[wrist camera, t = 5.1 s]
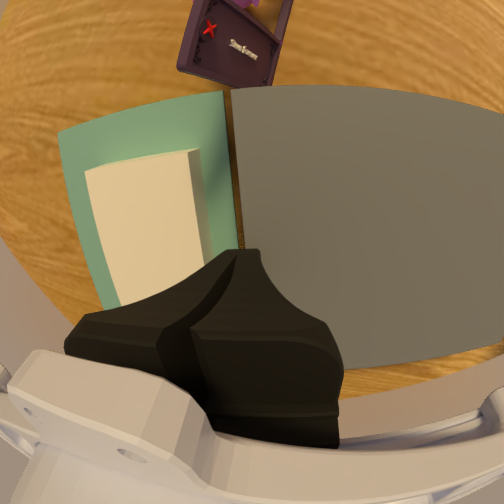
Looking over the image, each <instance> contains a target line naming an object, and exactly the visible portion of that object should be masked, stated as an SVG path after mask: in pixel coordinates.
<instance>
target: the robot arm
mask: <svg viewBox="0 0 504 504" xmlns="http://www.w3.org/2000/svg"><path fill="white" fill-rule="evenodd" d="M64 351H65V354H62V353H58V352H54V351H51V350H33V351H32V353H31V354H30V355H29V356H28V358H27V359H26V360H25V362H24V363H23V364H22V365H21V367H20V368H19V369H18V371H17V372H16V373H15V375H14V376H13V377H12V376H11V375H10V373H9V372H8V370H7V369H6V368H5V367H4V366H3V365H2V364H1V363H0V437H1V438H3V439H4V440H5V441H6V442H8V443H9V444H10V445H12V446H13V447H14V448H16V449H17V450H18V451H20V452H21V453H22V454H24V455H25V456H27V457H28V458H29V459H30V460H29V462H28V464H27V466H26V468H25V470H24V472H23V474H22V476H21V478H20V480H19V483H18V485H17V487H16V489H15V491H14V493H13V496H12V498H11V500H10V503H9V504H448V503H451V502H453V501H455V500H457V499H460V498H462V497H464V496H466V495H468V494H471V493H473V492H474V491H477V490H479V489H481V488H483V487H485V486H487V485H488V484H490V483H492V482H494V481H496V480H498V479H499V478H501V477H503V476H504V386H503V387H500V388H498V389H496V390H494V391H493V392H492V393H491V394H490V395H489V396H488V397H487V398H486V399H485V401H484V402H483V404H482V405H481V407H480V408H478V409H475V410H473V411H470V412H467V413H464V414H461V415H458V416H455V417H451V418H448V419H444V420H441V421H437V422H434V423H430V424H426V425H422V426H418V427H413V428H409V429H404V430H399V431H394V432H389V433H383V434H376V435H370V436H363V437H355V438H346V439H339V428H338V418H337V417H338V416H339V406H338V398H339V394H340V390H341V386H342V381H343V377H344V365H343V360H342V357H341V354H340V351H339V348H338V346H337V343H336V341H335V339H334V337H333V335H332V333H331V331H330V329H329V327H328V325H327V324H326V323H325V322H324V321H322V320H319V319H317V318H315V317H313V316H311V315H309V314H307V313H305V312H303V311H302V310H300V309H299V308H297V307H296V306H294V305H293V304H292V303H291V302H290V301H288V300H287V299H286V298H285V297H284V296H283V295H282V294H281V293H280V292H279V290H278V289H277V288H276V287H275V285H274V284H273V283H272V281H271V280H270V278H269V276H268V275H267V273H266V271H265V269H264V267H263V265H262V262H261V252H260V250H259V249H258V248H252V249H226V250H225V251H223V252H222V253H220V254H219V255H218V256H216V257H215V258H214V259H212V260H211V261H210V262H208V263H207V264H206V265H204V266H203V267H202V268H200V269H199V270H197V271H196V272H194V273H193V274H191V275H190V276H189V277H187V278H186V279H184V280H182V281H181V282H179V283H177V284H175V285H174V286H172V287H170V288H168V289H166V290H164V291H162V292H159V293H157V294H155V295H152V296H150V297H147V298H145V299H143V300H140V301H137V302H134V303H131V304H128V305H124V306H121V307H117V308H113V309H109V310H104V311H99V312H94V313H89V314H85V315H84V316H83V317H82V319H81V320H80V321H79V322H78V324H77V325H76V326H75V328H74V329H73V330H72V331H71V333H70V334H69V335H68V337H67V338H66V339H65V341H64Z"/></svg>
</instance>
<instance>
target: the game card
mask: <svg viewBox="0 0 504 504" xmlns="http://www.w3.org/2000/svg"><path fill="white" fill-rule="evenodd" d="M252 3H253V4H254V6H255V7H258V3H259V0H193V6H192V9H191V12H190V16H189V19H188V22H187V26H186V29H185V33H184V37H183V40H182V44H181V48H180V52H179V56H178V60H177V65H176V66H177V70H178V71H180V72H183V73H187V74H191V75H195V76H198V77H202V78H205V79H209V80H212V81H215V82H219V83H222V84H225V85H228V86H231V87H234V88H237V89H240V88H251V87H264V86H272V83H273V79H274V74H275V70H276V66H277V62H278V58H279V54H280V50H281V46H282V42H283V38H284V35H285V31H286V27H287V23H288V19H289V15H290V11H291V8H292V4H293V0H283V3H282V7H281V11H280V14H279V18H278V22H277V26H276V29H275V33H274V34H272V33H271V32H270V31H269V30H268V29H267V28H266V27H265V26H263V25H262V24H261V23H260V22H259V21H258V20H256V19H255V18H254V17H253V16H251V15H250V14H249V13H248V12H247V11H245V10H244V8H246V7H247V6H249V5H250V4H252Z"/></svg>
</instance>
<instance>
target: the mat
mask: <svg viewBox="0 0 504 504" xmlns="http://www.w3.org/2000/svg"><path fill="white" fill-rule="evenodd" d="M58 141H59V148H60V155H61V161H62V167H63V172H64V178H65V183H66V187H67V192H68V197H69V201H70V205H71V209H72V213H73V217H74V221H75V225H76V229H77V232H78V236H79V239H80V243H81V246H82V249H83V252H84V256H85V259H86V262H87V265H88V268H89V271H90V274H91V277H92V279H93V282H94V285H95V288H96V290H97V293H98V296H99V298H100V301H101V303H102V306H103V308H104V310H109V309H113V308H117V307H121V303H120V300H119V298H118V295H117V292H116V289H115V286H114V283H113V280H112V277H111V274H110V271H109V268H108V265H107V262H106V258H105V255H104V252H103V248H102V245H101V241H100V238H99V234H98V230H97V226H96V222H95V218H94V214H93V210H92V206H91V201H90V197H89V192H88V187H87V182H86V177H85V172H84V171H87V170H90V169H93V168H95V167H98V166H101V165H104V164H108V163H113V162H118V161H122V160H127V159H133V158H138V157H143V156H149V155H155V154H161V153H167V152H174V151H181V150H188V149H196V148H200V154H201V163H202V171H203V179H204V187H205V195H206V203H207V210H208V218H209V225H210V232H211V239H212V245H213V252H214V258H215V257H216V256H218V255H219V254H220V253H222V252H223V251H225V250H226V249H239V241H238V231H237V222H236V212H235V203H234V193H233V183H232V173H231V163H230V153H229V142H228V132H227V121H226V110H225V100H224V91H223V90H222V91H215V92H208V93H201V94H195V95H189V96H184V97H178V98H173V99H168V100H164V101H159V102H155V103H150V104H146V105H142V106H138V107H134V108H130V109H127V110H123V111H120V112H116V113H113V114H109V115H106V116H103V117H100V118H97V119H94V120H91V121H88V122H85V123H82V124H79V125H76V126H74V127H71V128H68V129H66V130H63V131H60V132H58Z"/></svg>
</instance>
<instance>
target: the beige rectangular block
mask: <svg viewBox="0 0 504 504" xmlns="http://www.w3.org/2000/svg"><path fill="white" fill-rule="evenodd" d="M84 172H85V177H86V182H87V187H88V192H89V197H90V201H91V206H92V210H93V214H94V218H95V222H96V226H97V230H98V234H99V238H100V241H101V245H102V248H103V252H104V255H105V258H106V262H107V265H108V268H109V271H110V274H111V277H112V280H113V283H114V286H115V289H116V292H117V295H118V298H119V300H120V303H121V306H124V305H128V304H131V303H134V302H137V301H140V300H143V299H145V298H147V297H150V296H152V295H155V294H157V293H159V292H162V291H164V290H166V289H168V288H170V287H172V286H174V285H175V284H177V283H179V282H181V281H182V280H184V279H186V278H187V277H189V276H190V275H191V274H193V273H194V272H196V271H197V270H199V269H200V268H202V267H203V266H204V265H206V264H207V263H208V262H210V261H211V260H212V259H214V252H213V245H212V239H211V232H210V225H209V218H208V210H207V203H206V195H205V187H204V179H203V171H202V163H201V154H200V148H196V149H188V150H181V151H174V152H167V153H161V154H155V155H149V156H143V157H138V158H133V159H127V160H122V161H118V162H113V163H108V164H104V165H101V166H98V167H95V168H93V169H90V170H87V171H84Z"/></svg>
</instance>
